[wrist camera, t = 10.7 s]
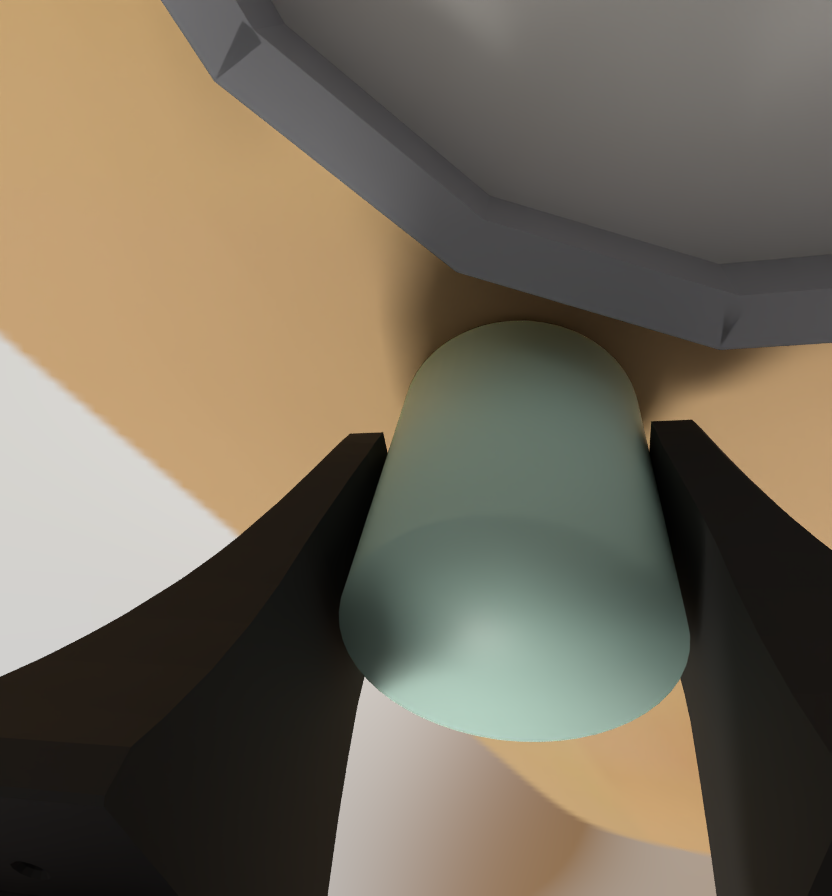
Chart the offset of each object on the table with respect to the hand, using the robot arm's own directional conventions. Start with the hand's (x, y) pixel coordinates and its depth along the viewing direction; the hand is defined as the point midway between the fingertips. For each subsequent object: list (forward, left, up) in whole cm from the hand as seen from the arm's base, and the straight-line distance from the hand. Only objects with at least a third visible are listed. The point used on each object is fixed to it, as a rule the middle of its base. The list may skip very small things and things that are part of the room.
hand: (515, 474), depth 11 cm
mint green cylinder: (0, 0, -1) cm, 1 cm away
